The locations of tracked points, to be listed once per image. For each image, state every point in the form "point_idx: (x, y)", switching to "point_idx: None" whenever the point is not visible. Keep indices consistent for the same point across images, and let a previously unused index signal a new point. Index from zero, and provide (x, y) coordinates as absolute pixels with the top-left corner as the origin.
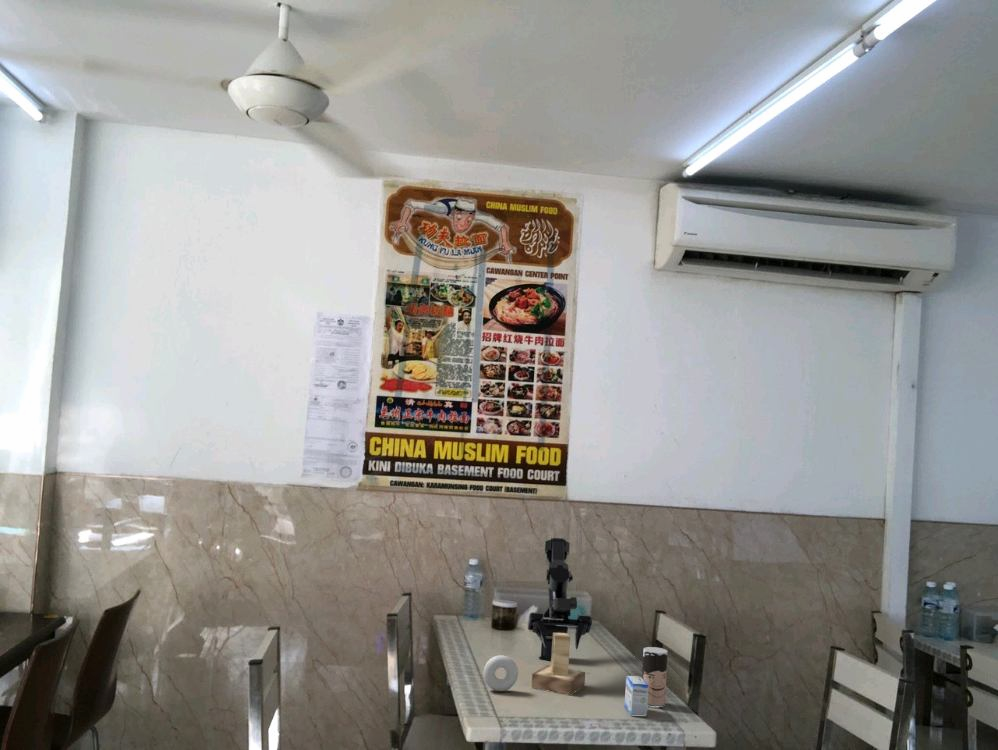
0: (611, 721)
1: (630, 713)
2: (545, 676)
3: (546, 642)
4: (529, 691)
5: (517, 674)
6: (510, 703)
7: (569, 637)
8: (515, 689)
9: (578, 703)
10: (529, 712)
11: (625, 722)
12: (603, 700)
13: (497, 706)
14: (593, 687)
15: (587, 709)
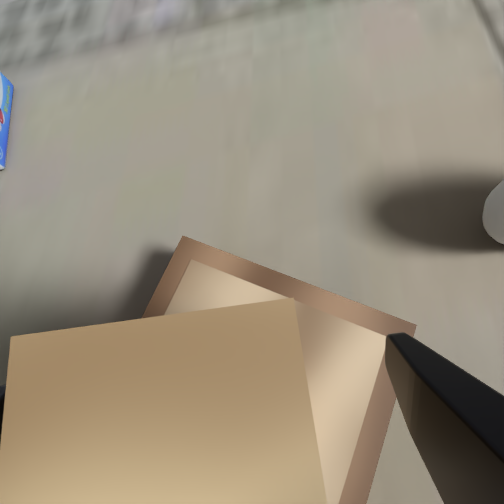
0: (92, 31)
1: (9, 85)
2: (328, 291)
3: (407, 359)
4: (391, 268)
5: (499, 186)
6: (442, 91)
7: (32, 338)
8: (464, 280)
9: (175, 166)
10: (357, 27)
11: (51, 35)
12: (64, 233)
13: (482, 48)
14: None
15: (151, 111)
